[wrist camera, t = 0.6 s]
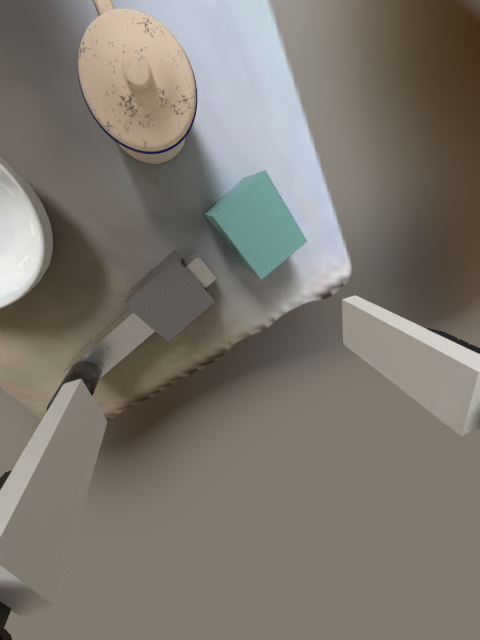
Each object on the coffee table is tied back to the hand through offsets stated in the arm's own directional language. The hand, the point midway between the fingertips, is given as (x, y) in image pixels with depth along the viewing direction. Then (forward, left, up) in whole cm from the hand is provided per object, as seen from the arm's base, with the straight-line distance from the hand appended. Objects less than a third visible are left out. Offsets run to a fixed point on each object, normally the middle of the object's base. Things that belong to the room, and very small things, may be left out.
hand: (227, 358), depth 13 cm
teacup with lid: (-16, +8, -26) cm, 31 cm away
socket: (+1, +9, -26) cm, 27 cm away
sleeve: (+1, -4, -26) cm, 26 cm away
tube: (+1, -10, -25) cm, 27 cm away
